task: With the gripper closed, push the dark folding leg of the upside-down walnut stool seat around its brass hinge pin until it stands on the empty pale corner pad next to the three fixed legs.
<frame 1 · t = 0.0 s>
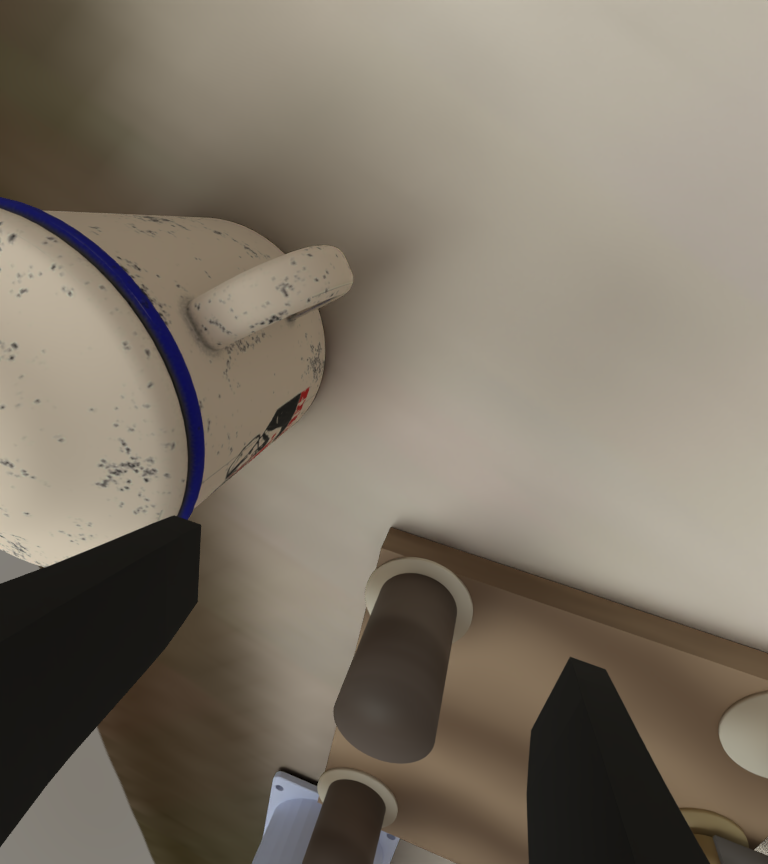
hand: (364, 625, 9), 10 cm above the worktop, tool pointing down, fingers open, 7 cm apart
stool seat: (532, 739, 23), on the worktop
teacup with lid: (257, 322, 19), on the worktop
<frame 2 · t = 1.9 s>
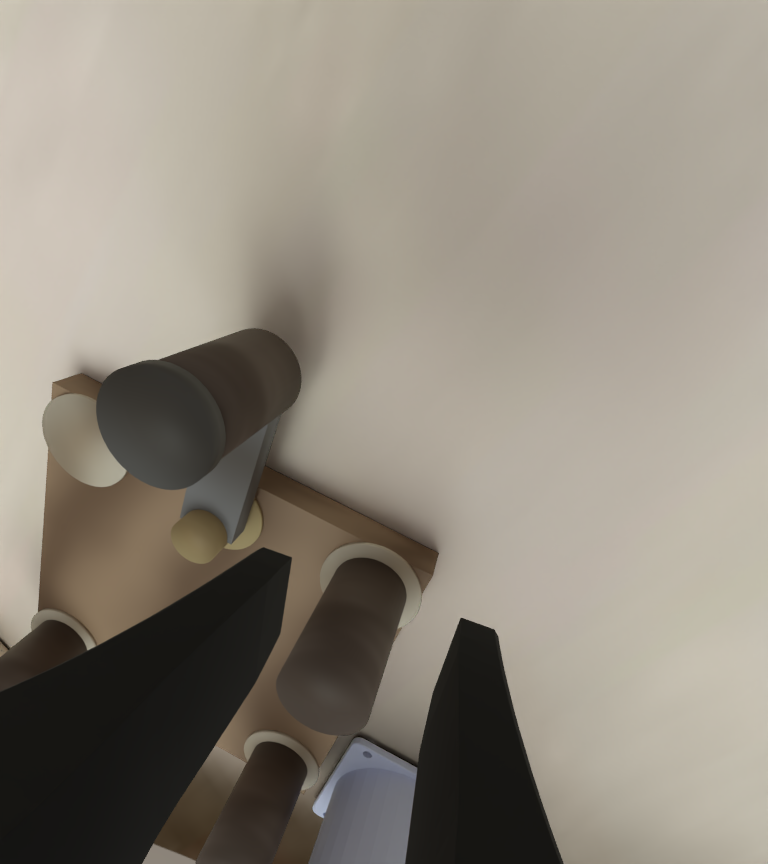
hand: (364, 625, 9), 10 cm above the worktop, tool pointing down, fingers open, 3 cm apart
stool seat: (212, 596, 25), on the worktop
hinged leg: (196, 477, 16), point 5 cm above the worktop, hinge at -90.0°
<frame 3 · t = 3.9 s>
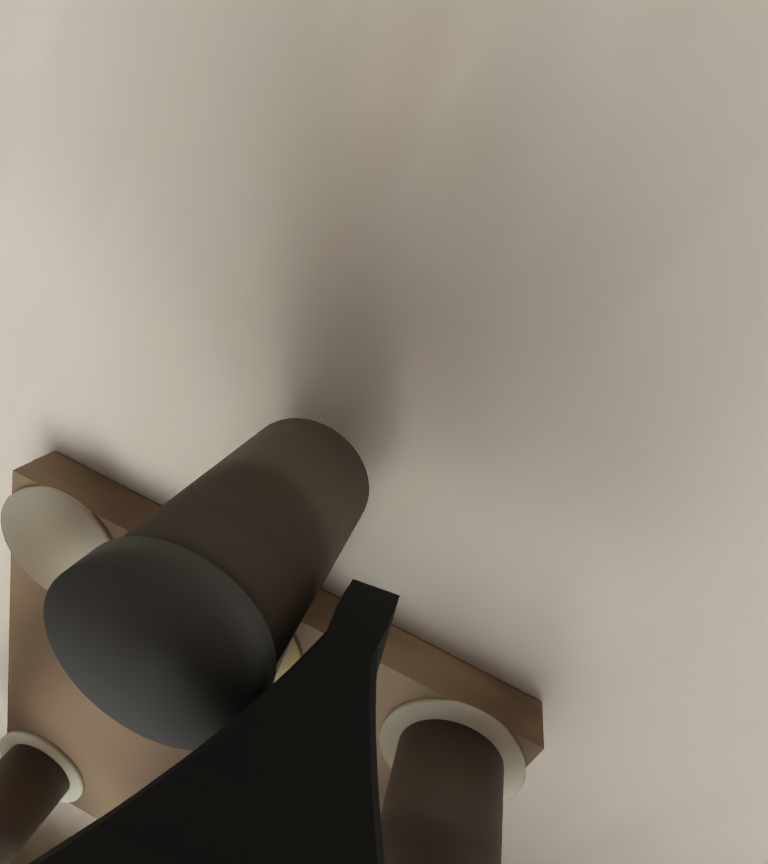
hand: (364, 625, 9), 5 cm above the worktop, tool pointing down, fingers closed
stool seat: (228, 723, 20), on the worktop
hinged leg: (214, 649, 11), point 5 cm above the worktop, hinge at -89.8°, touching gripper
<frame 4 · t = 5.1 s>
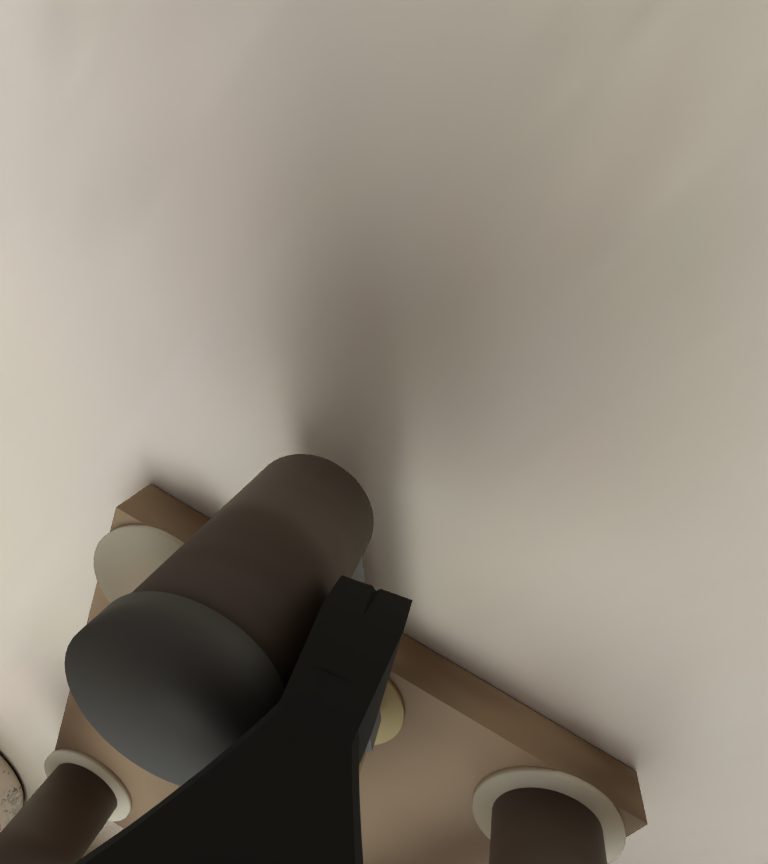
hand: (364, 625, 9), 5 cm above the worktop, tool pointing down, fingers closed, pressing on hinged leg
stool seat: (291, 758, 20), on the worktop
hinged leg: (282, 701, 11), point 5 cm above the worktop, hinge at -58.8°, touching gripper
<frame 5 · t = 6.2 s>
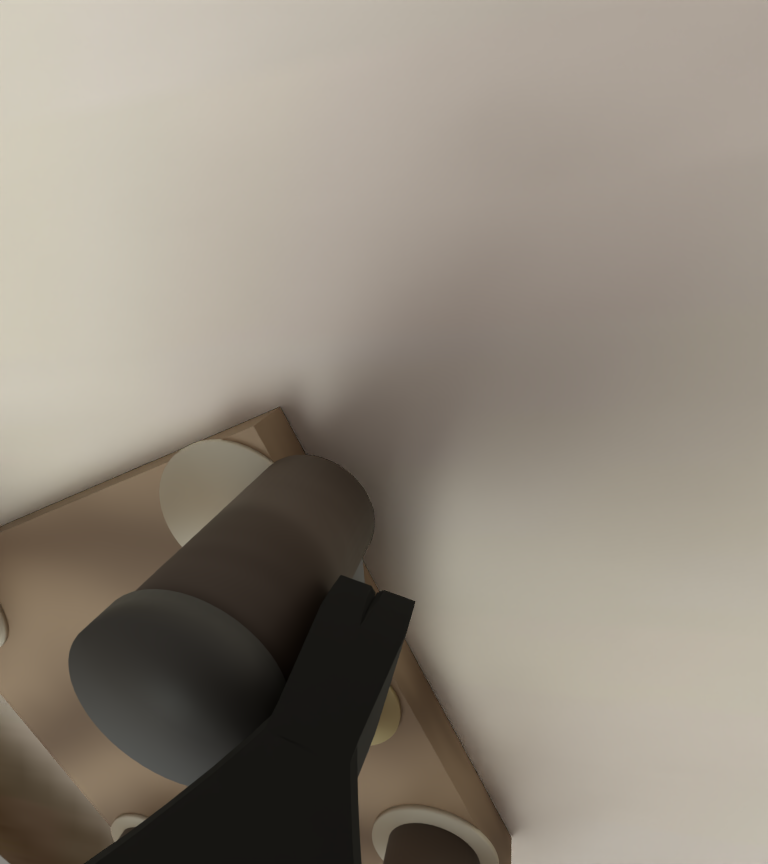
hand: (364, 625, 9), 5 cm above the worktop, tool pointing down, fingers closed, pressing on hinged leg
stool seat: (208, 685, 19), on the worktop
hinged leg: (281, 700, 11), point 5 cm above the worktop, hinge at -22.2°, touching gripper
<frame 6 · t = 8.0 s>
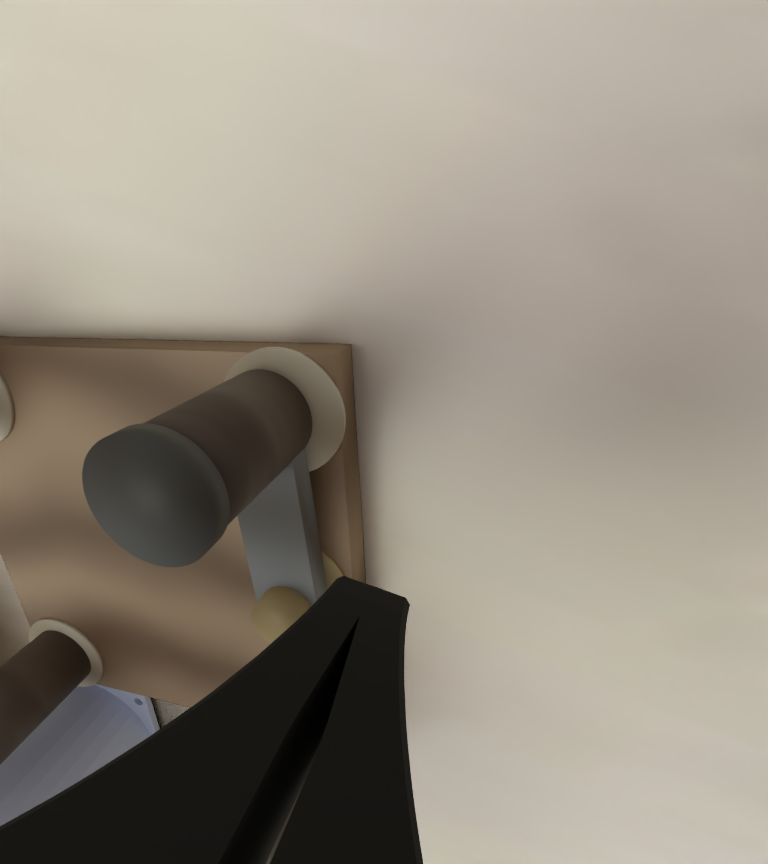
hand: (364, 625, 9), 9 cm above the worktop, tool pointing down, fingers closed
stool seat: (175, 537, 22), on the worktop
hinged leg: (240, 548, 14), point 5 cm above the worktop, hinge at 2.9°
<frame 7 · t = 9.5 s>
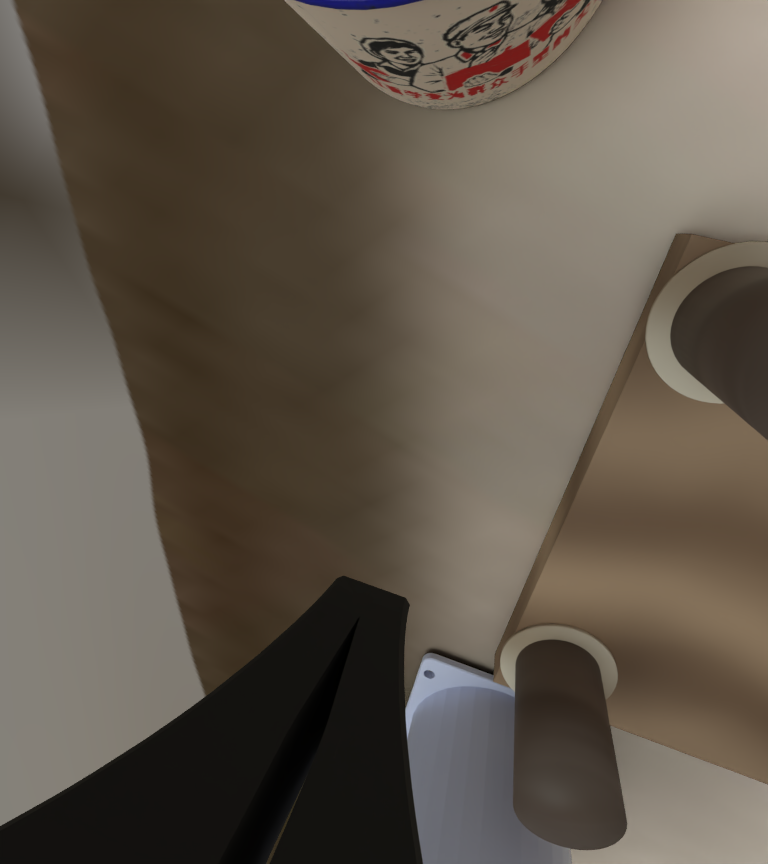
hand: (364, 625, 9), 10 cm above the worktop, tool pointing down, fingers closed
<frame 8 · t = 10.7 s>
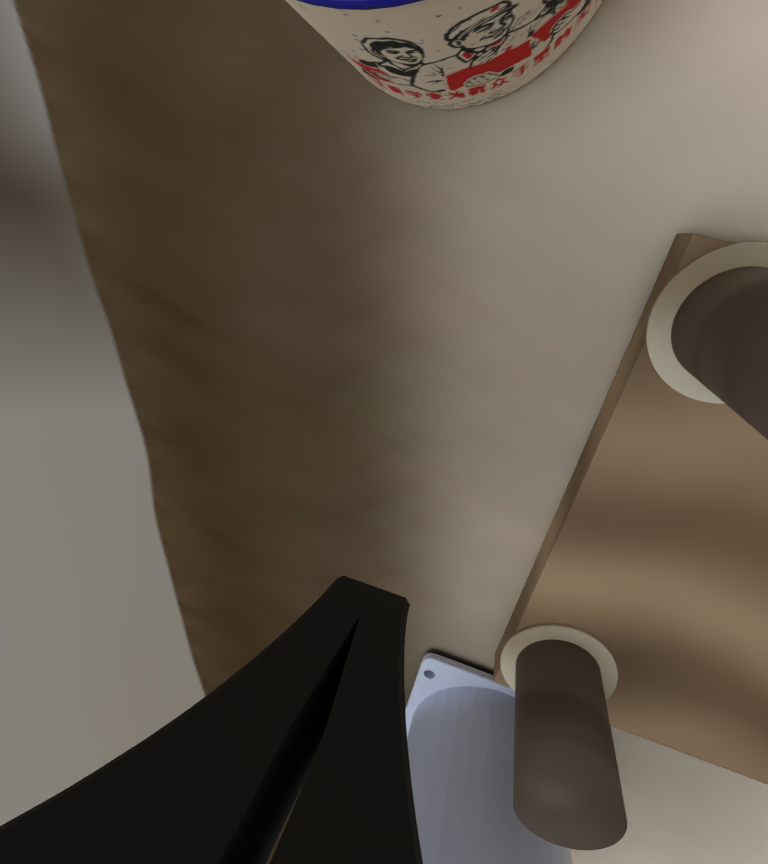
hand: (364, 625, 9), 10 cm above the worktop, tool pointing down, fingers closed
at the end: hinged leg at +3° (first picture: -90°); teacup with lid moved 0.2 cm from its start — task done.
